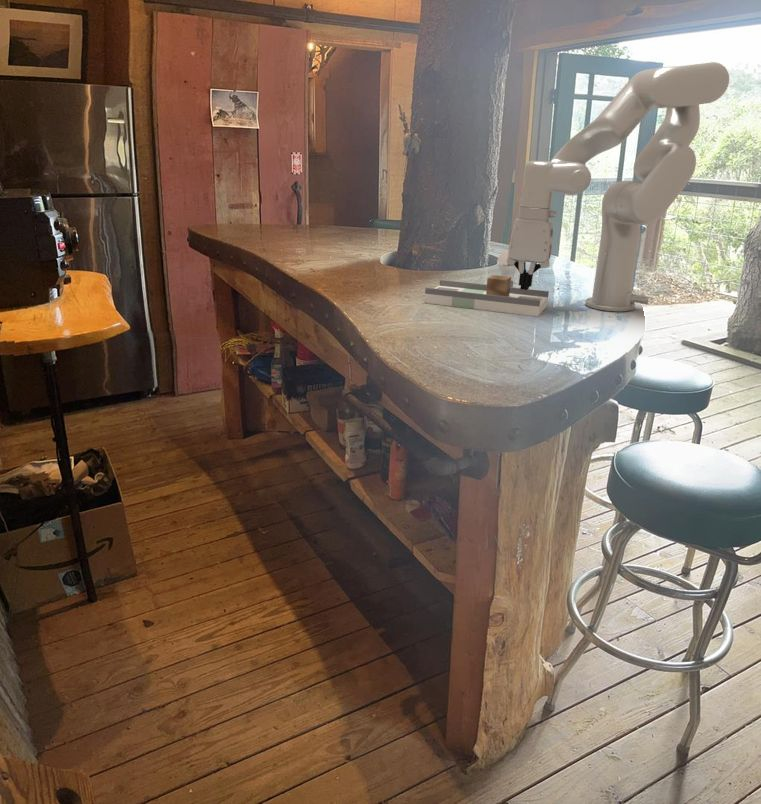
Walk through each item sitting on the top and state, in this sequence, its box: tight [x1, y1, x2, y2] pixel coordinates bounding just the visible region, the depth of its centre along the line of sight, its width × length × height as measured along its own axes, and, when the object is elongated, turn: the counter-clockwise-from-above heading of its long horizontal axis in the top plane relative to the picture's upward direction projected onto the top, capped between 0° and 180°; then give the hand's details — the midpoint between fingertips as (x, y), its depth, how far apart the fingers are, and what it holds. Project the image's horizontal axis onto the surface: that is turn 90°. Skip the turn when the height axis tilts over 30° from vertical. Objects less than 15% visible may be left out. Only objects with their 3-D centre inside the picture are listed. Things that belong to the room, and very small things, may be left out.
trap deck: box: [424, 279, 550, 317], centre depth 171 cm, size 30×12×4 cm, turn 66°
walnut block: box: [486, 274, 511, 297], centre depth 169 cm, size 5×5×5 cm
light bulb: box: [496, 248, 519, 288], centre depth 186 cm, size 7×7×12 cm
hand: (524, 288), depth 166 cm, fingers closed
